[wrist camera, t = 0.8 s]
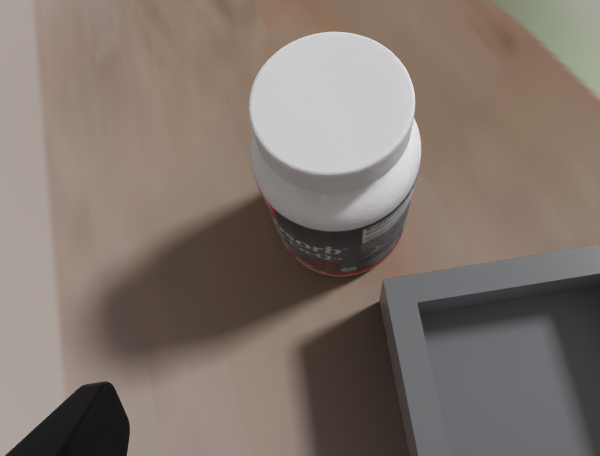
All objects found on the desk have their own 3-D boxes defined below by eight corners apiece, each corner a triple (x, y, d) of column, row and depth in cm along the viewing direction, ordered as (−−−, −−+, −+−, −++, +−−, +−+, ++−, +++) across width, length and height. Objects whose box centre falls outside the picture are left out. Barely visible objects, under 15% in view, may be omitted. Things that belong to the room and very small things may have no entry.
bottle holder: (714, 533, 18) (805, 564, 15) (431, 570, 19) (449, 609, 15) (616, 262, 22) (670, 232, 18) (379, 301, 22) (383, 279, 19)
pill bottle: (253, 227, 24) (186, 112, 15) (332, 140, 25) (316, -18, 16) (349, 306, 22) (342, 234, 13) (430, 210, 23) (477, 80, 14)
